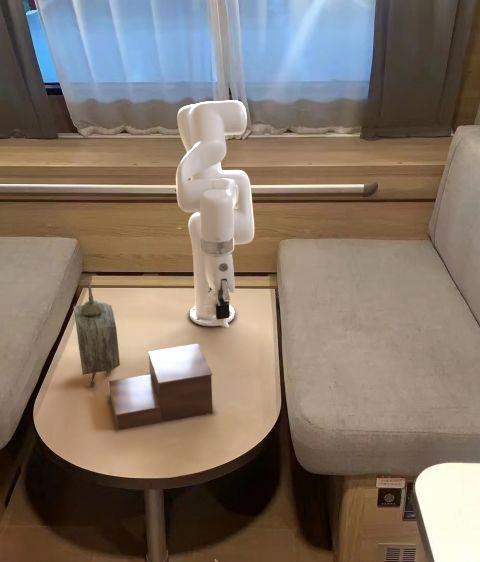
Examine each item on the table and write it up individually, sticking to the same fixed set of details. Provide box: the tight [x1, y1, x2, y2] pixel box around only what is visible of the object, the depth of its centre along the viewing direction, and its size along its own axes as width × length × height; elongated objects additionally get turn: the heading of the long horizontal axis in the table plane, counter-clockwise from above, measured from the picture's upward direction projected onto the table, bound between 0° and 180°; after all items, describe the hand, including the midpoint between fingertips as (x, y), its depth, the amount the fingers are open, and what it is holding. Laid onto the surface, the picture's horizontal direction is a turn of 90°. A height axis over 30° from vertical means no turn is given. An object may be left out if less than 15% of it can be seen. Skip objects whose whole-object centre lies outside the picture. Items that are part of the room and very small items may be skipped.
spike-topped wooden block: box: [73, 282, 121, 388], centre depth 184 cm, size 14×9×25 cm, turn 13°
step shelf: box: [108, 343, 214, 431], centre depth 175 cm, size 13×22×11 cm, turn 105°
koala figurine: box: [204, 289, 233, 329], centre depth 180 cm, size 8×7×12 cm
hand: (219, 310), depth 182 cm, fingers closed on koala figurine, 5 cm apart
